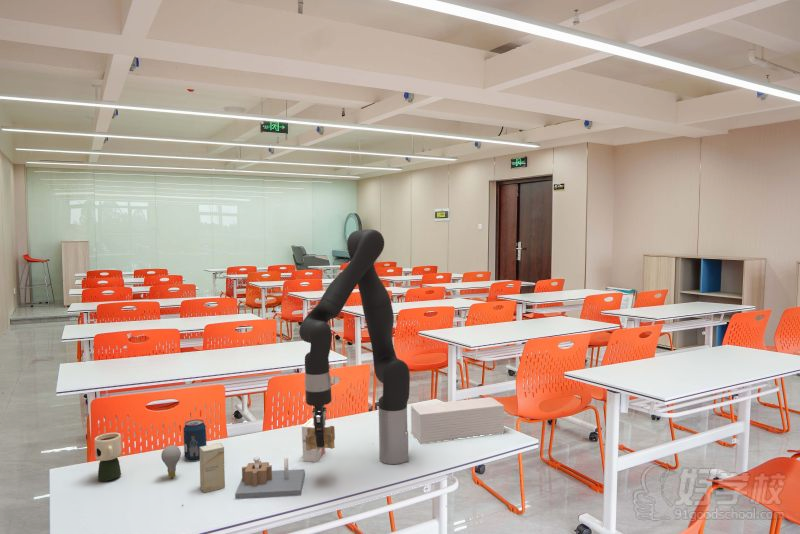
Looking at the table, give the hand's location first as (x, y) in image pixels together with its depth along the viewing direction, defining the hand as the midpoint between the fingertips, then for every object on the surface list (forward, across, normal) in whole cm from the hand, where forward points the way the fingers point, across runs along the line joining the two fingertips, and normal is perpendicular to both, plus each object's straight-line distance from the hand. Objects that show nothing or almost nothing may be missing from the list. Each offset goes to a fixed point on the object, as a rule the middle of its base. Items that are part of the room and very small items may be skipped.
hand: (320, 442), depth 166 cm
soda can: (+11, +22, +43) cm, 49 cm away
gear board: (+11, -2, +15) cm, 19 cm away
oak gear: (+1, 0, 0) cm, 1 cm away
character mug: (+10, +10, +65) cm, 66 cm away
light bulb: (+11, +7, +46) cm, 48 cm away
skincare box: (+11, -1, +32) cm, 34 cm away
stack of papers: (+14, +32, -47) cm, 59 cm away
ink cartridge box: (+12, +18, +4) cm, 22 cm away
